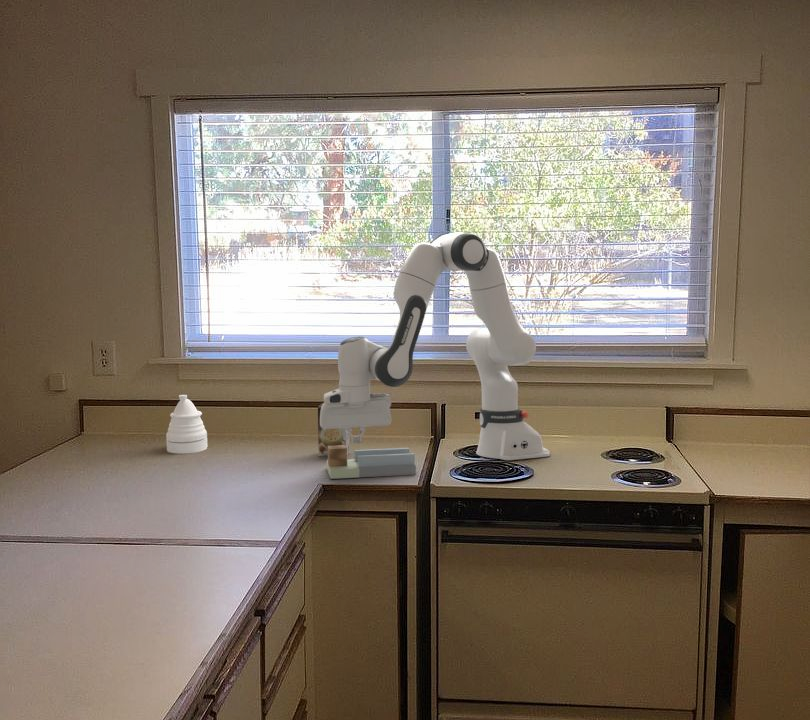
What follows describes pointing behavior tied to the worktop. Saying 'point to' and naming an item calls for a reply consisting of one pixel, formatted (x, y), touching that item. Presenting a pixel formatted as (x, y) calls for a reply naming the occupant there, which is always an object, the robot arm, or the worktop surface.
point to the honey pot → (186, 429)
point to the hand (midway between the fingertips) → (356, 442)
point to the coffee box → (331, 437)
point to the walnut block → (337, 455)
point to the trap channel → (376, 464)
